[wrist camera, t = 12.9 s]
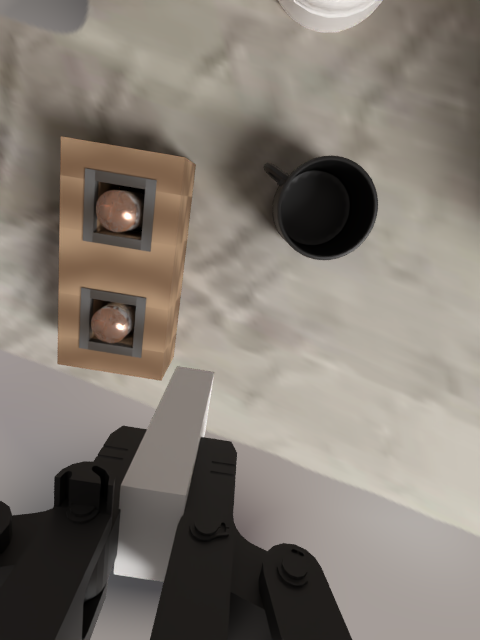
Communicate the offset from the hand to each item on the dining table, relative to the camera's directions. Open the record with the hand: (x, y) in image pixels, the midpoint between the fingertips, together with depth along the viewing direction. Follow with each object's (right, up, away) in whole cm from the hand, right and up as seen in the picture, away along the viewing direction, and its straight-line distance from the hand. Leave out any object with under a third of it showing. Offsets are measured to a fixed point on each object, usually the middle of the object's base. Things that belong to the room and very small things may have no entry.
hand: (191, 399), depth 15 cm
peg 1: (-10, +16, +29) cm, 34 cm away
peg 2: (-12, +5, +32) cm, 35 cm away
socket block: (-11, +11, +31) cm, 35 cm away
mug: (+9, +17, +29) cm, 35 cm away
